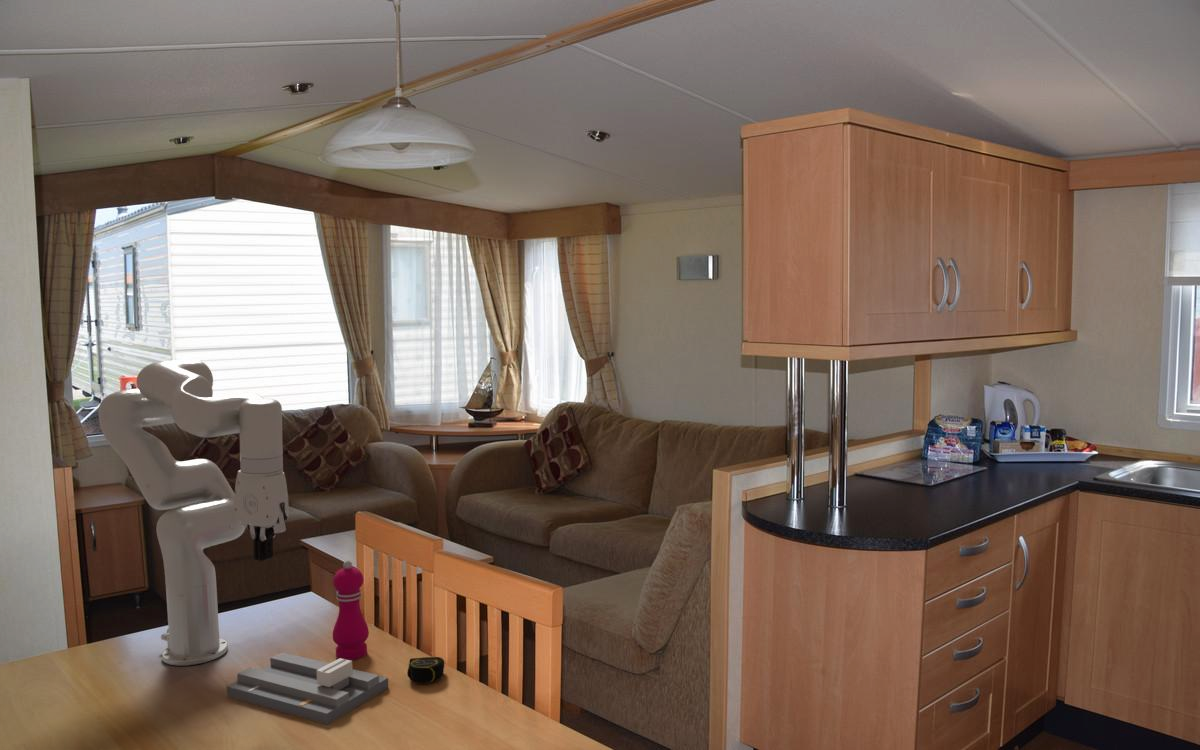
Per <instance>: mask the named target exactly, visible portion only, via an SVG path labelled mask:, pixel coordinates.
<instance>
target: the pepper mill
mask: <svg viewBox="0 0 1200 750" xmlns="http://www.w3.org/2000/svg"><path fill="white" fill-rule="evenodd" d="M342 567H343V568H340V569H338V570H337V571H336V572H335V574H334V575H333V579H332V580H333V581H332V584H333V587H334V589H336V590H337V591H336V594H335V595H336V600H337V601H338V608H339V609H338V614H337V615H338V616H337V619H336V621H335V624H334V626H333V630H332V641H333V642H334V643H335V644H336V645H337V646H336V647H335V657H336V659H339V658H341V659H346V660H350V661H353V660H354V661H355V660H358V659H362V658H363V657H365V656H367V654H368V644H367V643H366V641H367V640H368V638H369V635H370V634H369V633H370V632H369V627H368V622H367V621H366V619H365V617H364V616H363V613H362V610H361V605H360V601H361V598H362V590H361V587H362V586H363V584H364V576H363V573H362V571H361V570H360V569H358V568H356V567H353V562H352V561H350V560H345V561H344V562H343V565H342Z"/></svg>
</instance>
